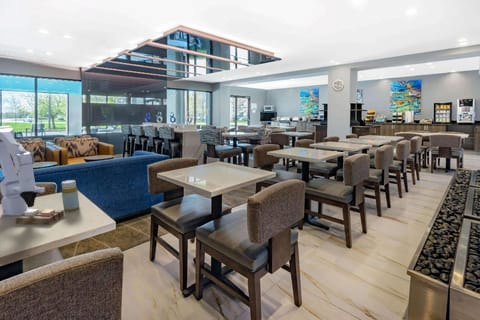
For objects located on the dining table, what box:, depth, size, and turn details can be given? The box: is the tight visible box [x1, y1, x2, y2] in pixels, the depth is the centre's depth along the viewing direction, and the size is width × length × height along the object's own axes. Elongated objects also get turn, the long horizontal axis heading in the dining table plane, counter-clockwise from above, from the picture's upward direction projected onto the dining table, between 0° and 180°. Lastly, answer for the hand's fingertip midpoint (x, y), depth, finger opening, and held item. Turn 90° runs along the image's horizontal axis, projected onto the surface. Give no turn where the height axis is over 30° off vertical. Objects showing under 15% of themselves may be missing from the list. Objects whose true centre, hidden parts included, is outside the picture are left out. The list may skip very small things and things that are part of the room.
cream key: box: [24, 208, 40, 216], centre depth 133 cm, size 4×4×3 cm
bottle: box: [61, 179, 80, 212], centre depth 145 cm, size 7×7×15 cm
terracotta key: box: [41, 208, 56, 216], centre depth 133 cm, size 4×4×3 cm
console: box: [14, 209, 65, 226], centre depth 133 cm, size 16×10×3 cm, turn 87°
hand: (30, 206), depth 132 cm, fingers closed
